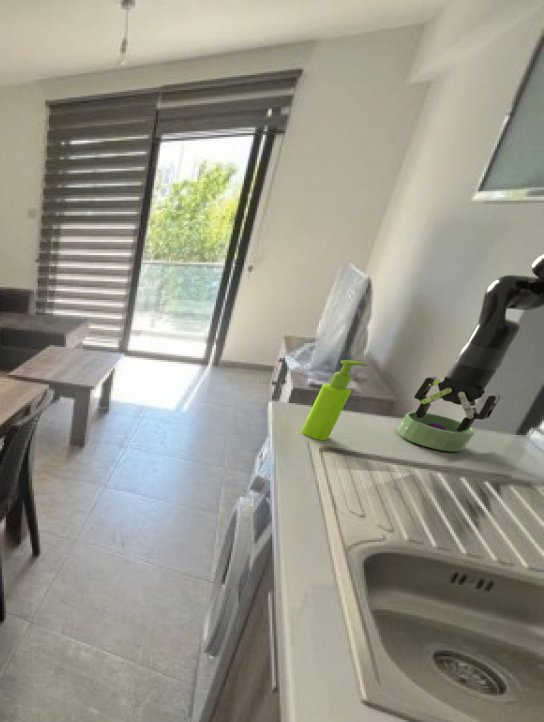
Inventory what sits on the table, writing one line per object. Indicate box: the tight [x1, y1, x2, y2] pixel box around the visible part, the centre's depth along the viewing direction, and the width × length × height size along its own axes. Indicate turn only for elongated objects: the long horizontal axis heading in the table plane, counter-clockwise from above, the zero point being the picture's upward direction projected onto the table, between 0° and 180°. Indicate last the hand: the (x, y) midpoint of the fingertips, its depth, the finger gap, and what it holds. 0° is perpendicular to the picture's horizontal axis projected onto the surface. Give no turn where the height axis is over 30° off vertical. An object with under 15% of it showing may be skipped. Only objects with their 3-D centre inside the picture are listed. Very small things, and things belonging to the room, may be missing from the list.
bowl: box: [396, 411, 476, 452], centre depth 124 cm, size 13×13×6 cm
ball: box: [427, 423, 446, 431], centre depth 124 cm, size 4×4×4 cm
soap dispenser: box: [301, 359, 368, 441], centre depth 120 cm, size 6×7×20 cm
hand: (439, 423), depth 123 cm, fingers open, 8 cm apart
